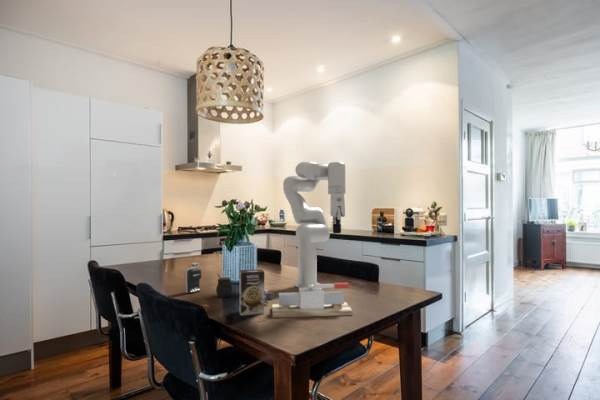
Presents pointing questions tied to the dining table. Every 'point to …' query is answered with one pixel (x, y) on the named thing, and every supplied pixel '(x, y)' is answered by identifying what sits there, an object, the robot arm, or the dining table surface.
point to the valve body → (311, 298)
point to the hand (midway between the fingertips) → (337, 233)
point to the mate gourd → (224, 287)
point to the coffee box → (251, 292)
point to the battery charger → (193, 280)
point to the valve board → (311, 311)
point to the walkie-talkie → (268, 295)
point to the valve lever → (329, 286)
